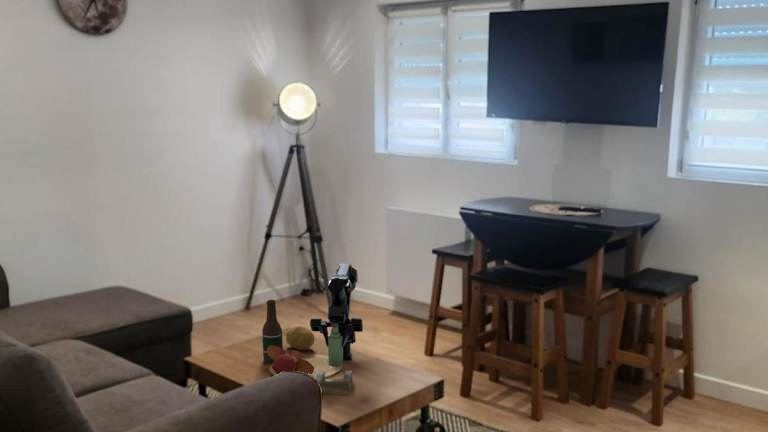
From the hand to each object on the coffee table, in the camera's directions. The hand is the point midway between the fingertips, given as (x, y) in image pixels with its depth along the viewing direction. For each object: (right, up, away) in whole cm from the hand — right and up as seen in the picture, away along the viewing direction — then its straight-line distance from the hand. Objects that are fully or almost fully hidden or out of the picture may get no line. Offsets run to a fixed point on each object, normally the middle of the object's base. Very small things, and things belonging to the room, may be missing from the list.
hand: (334, 346), depth 252 cm
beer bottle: (-25, -10, +23) cm, 36 cm away
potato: (-17, -8, +37) cm, 41 cm away
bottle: (0, -7, +2) cm, 7 cm away
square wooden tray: (0, -14, -5) cm, 14 cm away
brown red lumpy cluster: (-17, -12, +10) cm, 23 cm away
